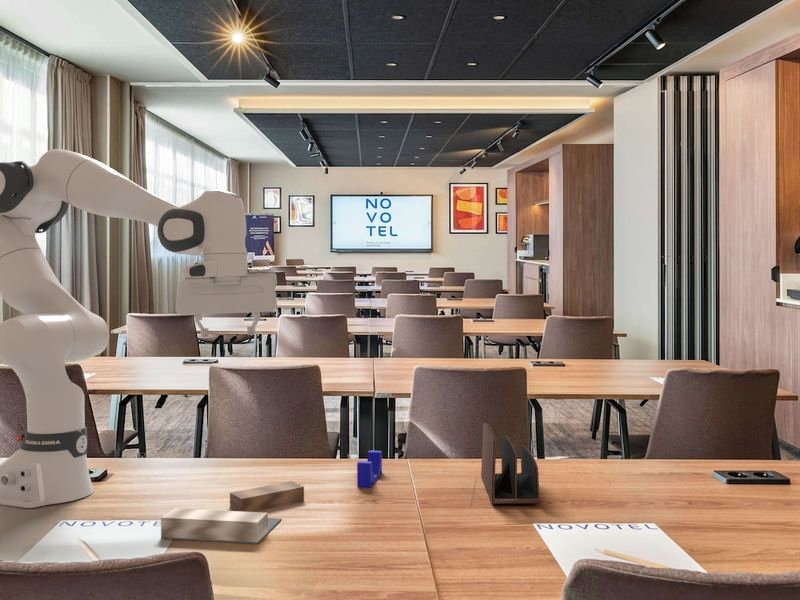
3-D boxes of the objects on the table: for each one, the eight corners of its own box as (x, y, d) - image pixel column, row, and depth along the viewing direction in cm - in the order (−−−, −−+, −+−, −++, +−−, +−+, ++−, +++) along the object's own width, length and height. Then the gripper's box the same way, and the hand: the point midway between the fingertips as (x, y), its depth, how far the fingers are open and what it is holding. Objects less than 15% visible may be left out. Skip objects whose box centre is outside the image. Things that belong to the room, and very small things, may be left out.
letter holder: (491, 504, 150) (491, 436, 149) (480, 478, 170) (480, 418, 169) (540, 504, 150) (539, 436, 149) (523, 478, 170) (523, 418, 169)
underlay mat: (161, 538, 130) (161, 537, 130) (193, 515, 143) (193, 514, 143) (257, 543, 127) (257, 542, 127) (281, 520, 140) (281, 518, 140)
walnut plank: (241, 516, 143) (241, 498, 143) (230, 509, 148) (229, 492, 148) (304, 503, 152) (303, 486, 152) (291, 497, 156) (291, 481, 156)
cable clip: (363, 475, 173) (363, 450, 173) (381, 476, 173) (381, 451, 172) (350, 489, 162) (350, 462, 161) (370, 490, 161) (370, 463, 161)
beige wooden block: (161, 537, 130) (160, 517, 130) (175, 527, 135) (175, 508, 135) (257, 542, 127) (257, 522, 127) (267, 531, 133) (267, 512, 132)
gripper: (273, 268, 156) (276, 332, 157) (174, 270, 150) (176, 337, 150) (278, 267, 151) (281, 334, 151) (175, 269, 144) (177, 339, 144)
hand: (228, 335), depth 150 cm, fingers open, 8 cm apart
